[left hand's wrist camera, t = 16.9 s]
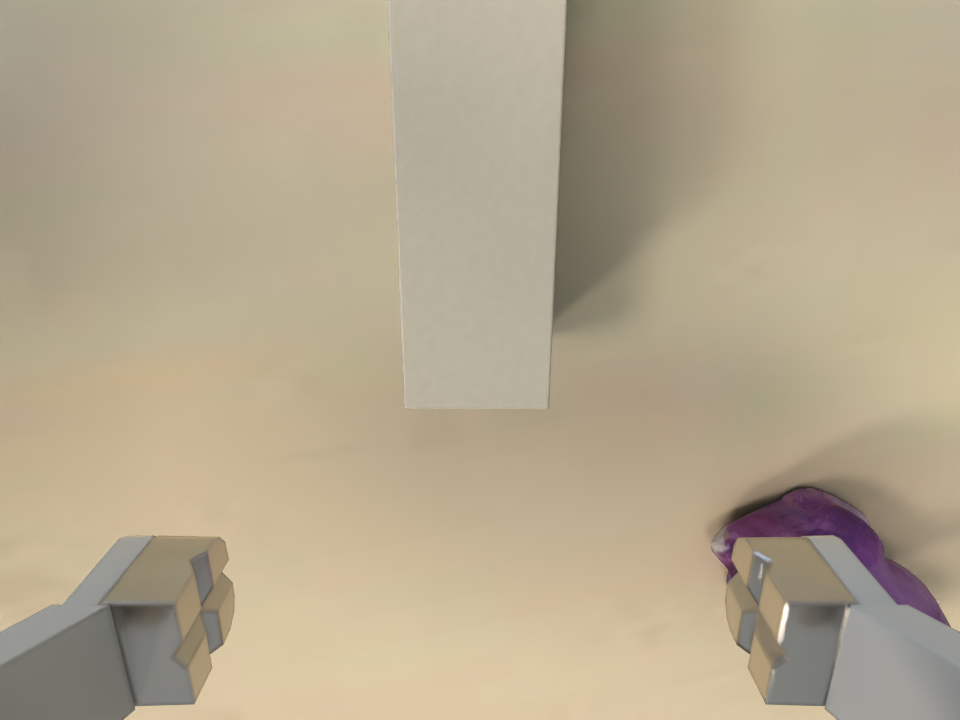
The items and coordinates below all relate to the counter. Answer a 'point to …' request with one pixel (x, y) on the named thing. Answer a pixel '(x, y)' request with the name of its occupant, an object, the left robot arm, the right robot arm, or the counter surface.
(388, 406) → the counter surface
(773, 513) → the figurine
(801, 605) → the left robot arm
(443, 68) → the bar
